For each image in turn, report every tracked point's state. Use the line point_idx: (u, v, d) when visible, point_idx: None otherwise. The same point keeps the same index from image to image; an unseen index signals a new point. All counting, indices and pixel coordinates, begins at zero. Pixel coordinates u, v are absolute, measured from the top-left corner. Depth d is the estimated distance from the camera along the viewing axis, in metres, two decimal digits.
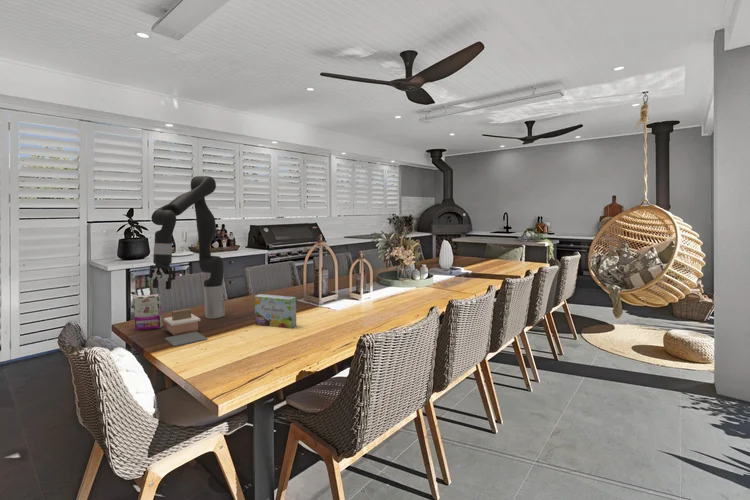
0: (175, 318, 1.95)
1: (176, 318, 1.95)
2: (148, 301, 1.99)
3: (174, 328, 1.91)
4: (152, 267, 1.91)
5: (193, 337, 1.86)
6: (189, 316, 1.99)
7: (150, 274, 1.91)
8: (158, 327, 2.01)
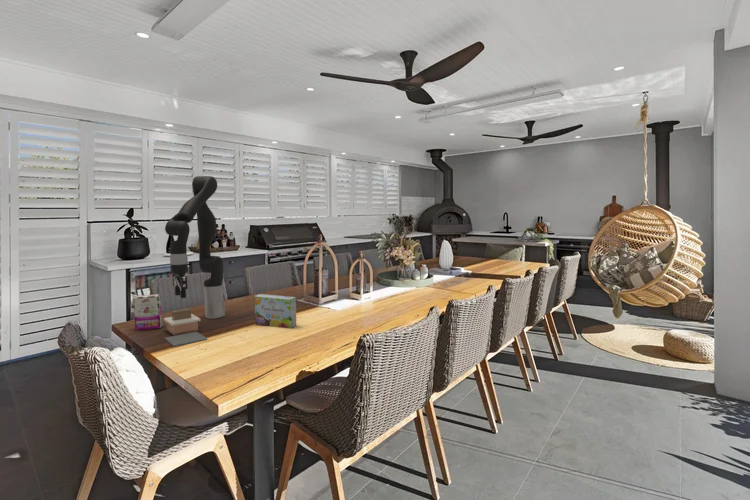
0: (175, 318, 1.95)
1: (176, 318, 1.95)
2: (148, 301, 1.99)
3: (174, 328, 1.91)
4: (174, 275, 2.00)
5: (193, 337, 1.86)
6: (189, 316, 1.99)
7: (173, 282, 2.00)
8: (158, 327, 2.01)
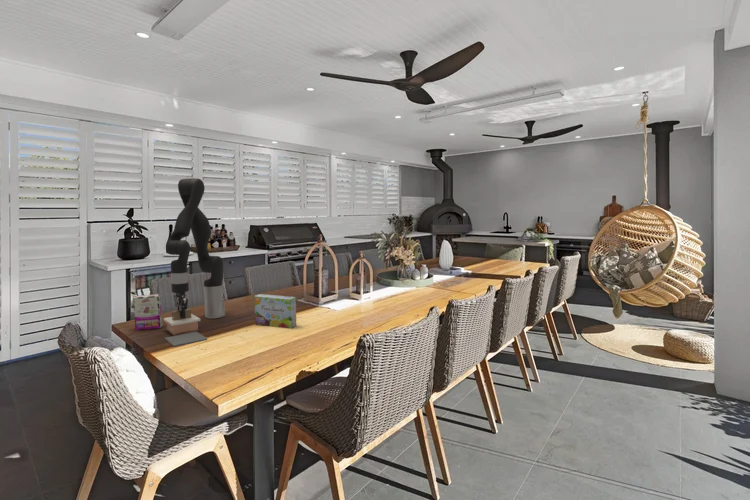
0: (175, 318, 1.95)
1: (176, 318, 1.95)
2: (148, 301, 1.99)
3: (174, 328, 1.91)
4: (175, 296, 2.00)
5: (193, 337, 1.86)
6: (189, 316, 1.99)
7: (175, 303, 2.00)
8: (158, 327, 2.01)
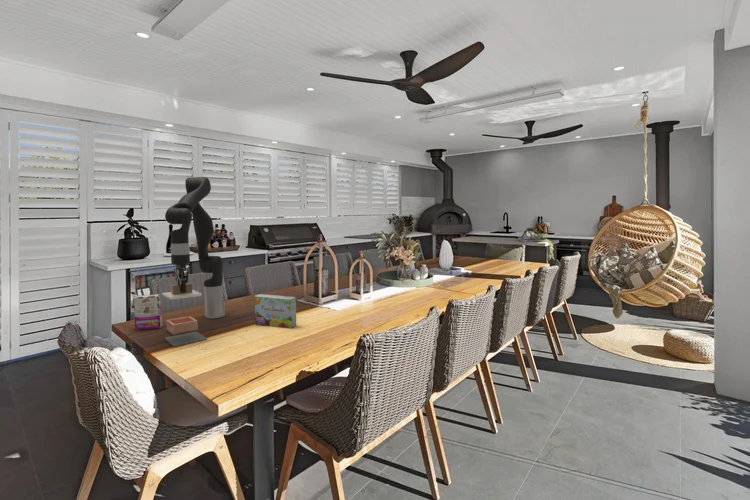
0: (175, 292, 1.81)
1: (176, 292, 1.81)
2: (148, 301, 1.99)
3: (174, 328, 1.91)
4: None
5: (193, 337, 1.86)
6: (190, 291, 1.85)
7: (175, 277, 1.86)
8: (158, 327, 2.01)
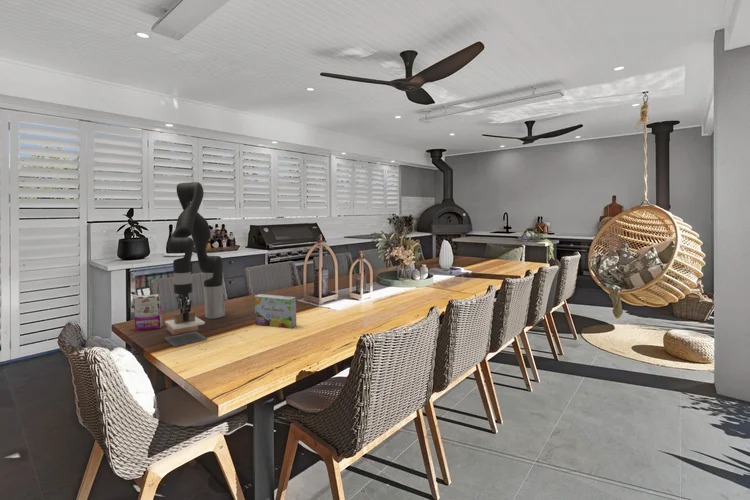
0: (178, 321, 1.81)
1: (179, 321, 1.81)
2: (148, 301, 1.99)
3: None
4: (178, 297, 1.87)
5: (193, 337, 1.86)
6: (193, 319, 1.85)
7: (178, 305, 1.86)
8: (158, 327, 2.01)
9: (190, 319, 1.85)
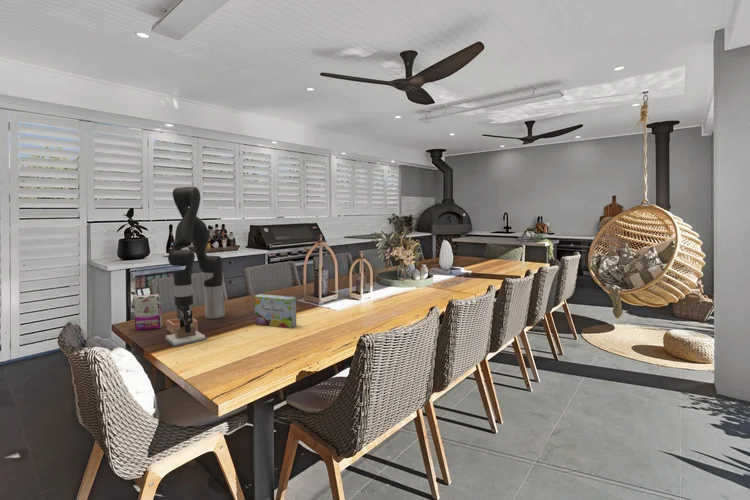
0: (178, 336, 1.82)
1: (179, 336, 1.82)
2: (148, 301, 1.99)
3: (174, 328, 1.91)
4: (178, 307, 1.88)
5: None
6: (193, 333, 1.86)
7: (178, 315, 1.88)
8: (158, 327, 2.01)
9: (191, 333, 1.85)
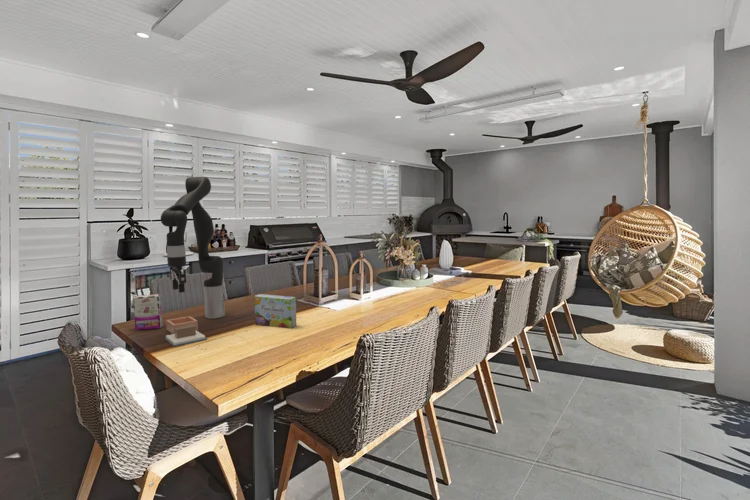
0: (178, 336, 1.82)
1: (179, 336, 1.82)
2: (148, 301, 1.99)
3: (174, 328, 1.91)
4: (171, 268, 1.89)
5: None
6: (193, 333, 1.86)
7: (170, 275, 1.90)
8: (158, 327, 2.01)
9: (191, 333, 1.85)
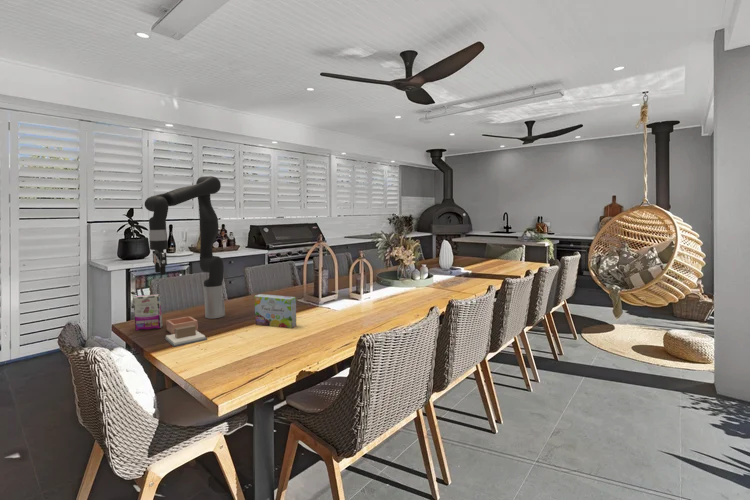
0: (178, 336, 1.82)
1: (179, 336, 1.82)
2: (148, 301, 1.99)
3: (174, 328, 1.91)
4: (154, 252, 1.97)
5: None
6: (193, 333, 1.86)
7: (153, 259, 1.98)
8: (158, 327, 2.01)
9: (191, 333, 1.85)
